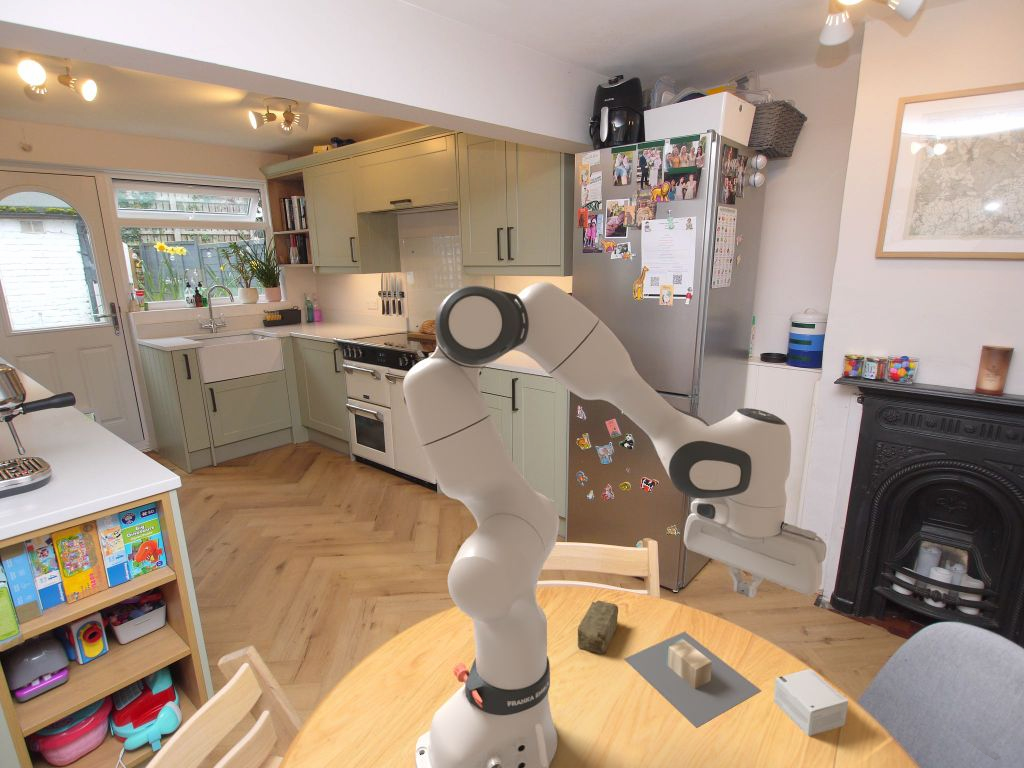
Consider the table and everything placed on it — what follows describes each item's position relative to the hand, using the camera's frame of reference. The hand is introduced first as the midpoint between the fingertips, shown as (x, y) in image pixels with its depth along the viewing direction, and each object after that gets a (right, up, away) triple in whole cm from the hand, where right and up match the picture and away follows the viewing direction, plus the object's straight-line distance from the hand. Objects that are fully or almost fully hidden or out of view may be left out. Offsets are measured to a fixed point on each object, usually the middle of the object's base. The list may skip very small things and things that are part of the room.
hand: (744, 593), depth 84 cm
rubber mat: (-4, -21, +13) cm, 25 cm away
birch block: (-3, -19, +10) cm, 22 cm away
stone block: (-19, -19, +24) cm, 36 cm away
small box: (+13, -23, +5) cm, 26 cm away
